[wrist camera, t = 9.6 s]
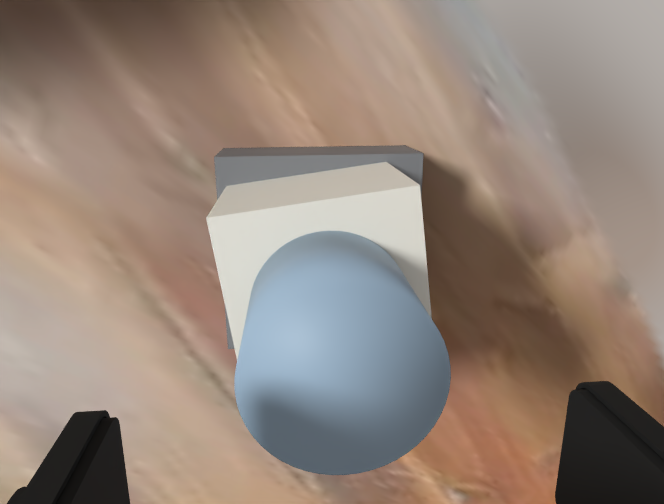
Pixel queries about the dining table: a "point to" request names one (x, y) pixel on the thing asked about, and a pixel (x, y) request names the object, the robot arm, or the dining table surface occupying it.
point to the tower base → (306, 166)
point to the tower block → (315, 225)
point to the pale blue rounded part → (338, 357)
